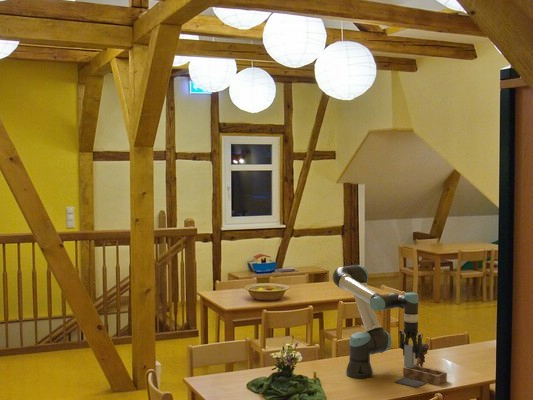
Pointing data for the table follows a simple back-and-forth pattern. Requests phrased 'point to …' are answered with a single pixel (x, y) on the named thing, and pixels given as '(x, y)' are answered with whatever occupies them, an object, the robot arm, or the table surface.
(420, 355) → the figurine
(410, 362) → the metal block
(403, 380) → the rubber mat
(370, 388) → the table surface
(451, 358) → the table surface
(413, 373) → the channel
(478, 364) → the table surface
